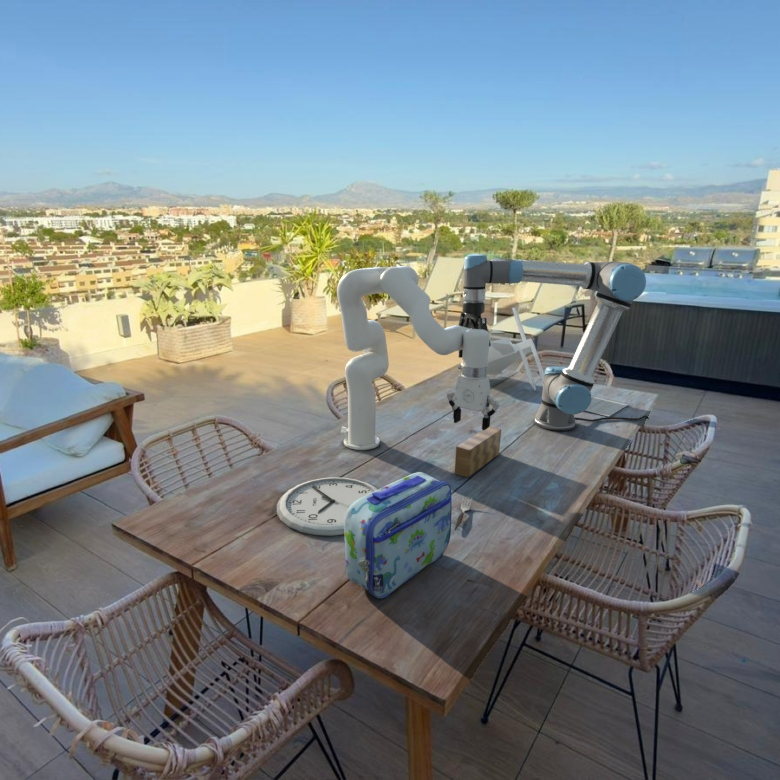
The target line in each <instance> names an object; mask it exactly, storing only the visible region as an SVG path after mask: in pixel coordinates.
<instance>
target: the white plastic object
mask: <svg viewBox="0 0 780 780" xmlns="http://www.w3.org/2000/svg"><path fill="white" fill-rule="evenodd" d="M511 310H512V314H513V316H514V319H515V322H516V325H517V328H518V331H519V334H520V338H521V341H520V342H517V343H513V342H512V341H511V339H510V338H509V337H505V338H500V339H495V340H490V344H491V346H489V352H488V367H487V376H493V377H495V376H498V375H502V374H503V371H504V370H505V369H507V368H509V367H510V366H511V365H512V364H515V362H517V361H518V360H520V359H521V361H522V364H523V367H524V370H525V373H526V377H527V379H528V382H529V384H530V387H532V389H533V390H534V391H537V390H536V389H537V387H536V383H535V380H534V376H533V373H532V370H531V368H530V365H529V362H528V358H527V355H528V354H531V353H532V355H533V357H534V362H535V364H536V367H537V371H538V374H539V376H540V379H541V382H542V383H543V382H544V374H545V370H544V369H543V366H542V362H541V360H540V356H539V355H538V351H537V347H536V344H535V343H534V341H533V339H532V338H530V337H529V338H527V337H526V334H525V331H524V327H523V325H522V322H521V318H520V315H519V313H518V311H517V309H516V307H512V308H511ZM461 364H462V362H461V363H460V365H461Z"/></svg>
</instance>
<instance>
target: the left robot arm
mask: <svg viewBox="0 0 780 780" xmlns="http://www.w3.org/2000/svg"><path fill="white" fill-rule="evenodd" d="M376 294H386V295H387V296H388V297H390V299H391V300H392V301H393V302H394V303H395V304H396V305H397V306H399V308H400V309H402V311H403V312H405V314H406V315H407V316H408V317H409V318H410V322H411V325H412V327H413V329H414V332H415V333H416V335H417V336H418V337H419V338H420V340H421V341H422V342H423V343H424V344H425V346H427V347H428V348H429V349H430V350H431V351H433V352H434V353H436V354H437V355H440V356H448V355H451V354H453V353H455V352H459V350H463V354H462V358H461V363H462V364H461V363H460V364H458V366H457V369H458V370H460V373H459V374H458V375H457V379H456V383H455V389H454V391H452V392H449V393H447V394H446V398H447V401H448V403H449V406H450V407H451V410H452V411H453V412H452V413H453V414H452V416H453V417H452V419H453V423H454V424H457V423H459V422H461V420H462V409H466V410H471V411H475V412H481V414H482V415H483V417H482V421H481V422H482V423H481V431H482V430H486V429H487V428H488V427H489V426H490V427H491V417H492V416H493V415H495V414H496V413H497V411H498V410H499V408H500V404H499V403H498V402H497V401H496V400H494V399H493V398H492V397H491V383H490V377H489V375H487V367H488V352H489V339H490V333H489V331H488V332H487V331H486V330H482V329H469V328H466V327H462V326H458V325H459V324H458V325H451V326H447V327H443V326H442V325H441V323H439V322H438V321H437V320H436V318H435V317H434V316H433V315H432V313H431V309H430V303H431V297H430V296H429V294H428V293H426V292H425V291H424V289H423V288H421V287H420V286H419V275H418V273H417V271H416V270H415V269H414V268H412V267H411V266H408V265H398V266H377V267H366V268H365V267H364V268H358V269H352V270H350V271H348V272H347V273H345V274H343V275H342V277H341V278H340V279H339V281H338V284H337V286H336V297H337V298H336V299H337V301H338V306H339V309H340V318H341V325H342V331H343V340H344V343H345V346H346V348H347V350H349V351H351V352H353V353H358V352H359V353H360V352H363V353H362V354H359V355H356V356H354V357H352V358H350V359H349V360H348V361H347V363H346V364H345V368H344V376H345V381H346V386H347V424H348V425H347V427H346V426H341V428H340V431H339V434H340V435H343V436H345V438H344V439H343V445H344V447H347V449H351V450H355V451H367V450H372V449H376V448H377V447H378V446H380V442H381V440H380V438H379V437H378V436H376V413H377V411H376V409H377V407H376V405H377V403H376V401H377V400H376V399H377V398H376V397H377V395H376V390H375V387H374V385H373V381H375V380H377V379H379V378H381V377H383V376H384V375H385V374H387V372H388V371H389V353H388V345H387V338H386V332H385V330H384V327H383V326H382V324H381V323H379V322H378V321H376V320H374V319H369V318H368V311H367V307H366V305H365V303H364V301H363V299H362V297H365V296H371V295H376ZM490 406H491V407H492V408H491V409H490ZM461 408H462V409H461Z"/></svg>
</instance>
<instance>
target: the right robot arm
mask: <svg viewBox="0 0 780 780" xmlns="http://www.w3.org/2000/svg"><path fill="white" fill-rule="evenodd" d="M462 276H463V278H462V281H463V282H462V283H463V284H462V286H463V287H462V300H463V302H462V309H461V310H462V312H460V316H459V317H460V318H459V322H458V326H462V327H466V328H469V329H482V330H486V331H487V332H488V333H489V329H488V325H487V320H488V319H487V317H482V314H484V313H485V309H486V304H485V300H486V285H487V284H509V285H513V284H520V283H521V282H525V283H535V284H536V283H538V284H549V285H562V286H573V287H581V288H582V289H583V290H589V291H594V292H596V294H595V295H594V296H595V299H596V302H597V303H596V304H595V305H596V306H595V308H594V310H593V312H592V314H591V317H590V319H589V321H588V323H587V325H586V327H585V330H584V332H583V334H582V337H581V339H580V341H579V343H578V345H577V348H576V350H575V352H574V355H573V356H572V358H571V361H570V363H569V366H548V367H546V368H545V369H544V382H542V394H541V402H540V405H539V407H538V410H537V411H536V413H535V416H534V424H535V425H536V426H537V427H539V428H542V429H544V430H549V431H556V432H567V431H572V430H574V429H575V428H576V421H584V422H591V423H594V422H598V421H603V420H625V421H641V420H642V419H647V420H650V417H649V416H648V415H642V416H640V417H633V418H632V417H625V416H624V417H623V416H621V417H620V416H609V417H608V416H604V417H599V418H595V419H589V418H584V417H576V416H575V415H578V414H581V413H583V412H586V411H585V410H586V409H587V408H588V407H589V405H590V403H591V399H592V398H593V397H592V392H591V391H592V389H593V387H594V386H595V380H594V374H595V372H596V370H597V368H598V365H599V363H600V361H601V359H602V357H603V355H604V353H605V350H606V348H607V346H608V344H609V342H610V340H611V338H612V335H613V333H614V331H615V329H616V327H617V324H618V322H619V320H620V318H621V317H622V314H623V312H625V311H627V310H630V308H631V306H632V304H633V302H634V300H636V299H638V298H639V297H641V296H642V294H643V293H644V292H645V290H646V286H647V277H646V274H645V272H644V270H643V269H641V268H640V267H639V266H637V265H635V264H634V263H631V262H630V263H629V262H622V261H616V260H615V261H614V260H613V261H599V262H598V261H597V262H596V261H586V262H585V263H583V264H582V263H569V262H554V261H541V260H530V259H529V260H524V259H512V258H503V257H494V258H493V259H491V260H488V256H487V255H486V254H466V255H465V257H464V261H463V275H462ZM490 342H491V339H490V338H489V346H491V344H490ZM462 354H463V350H459V351H458V358H460V359H462Z"/></svg>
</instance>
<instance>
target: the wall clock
mask: <svg viewBox="0 0 780 780" xmlns="http://www.w3.org/2000/svg"><path fill="white" fill-rule="evenodd" d="M378 489H379V488H377V487H376V486H374V485H372V484H371V483H369V482H365V481H362V480H359V479H355V478H349V477H338V476H337V477H335V476H333V477H332V476H331V477H322V478H317V479H312V480H307V481H305V482H302V483H299V484H297V485H295V486H293V487H292V488H290V489H288V490H287V491H286V492H285V493H284V494H283V495H281V496H280V498H279V499H278V502H277V503H276V515H277V517H278V518H279V520H280V521H281V522H282V523H283V524H285V525H286V526H287V527H288V528H290V529H293V530H295V531H297V532H299V533H303V534H308V535H312V536H327V537H328V536H329V537H331V536H332V537H333V536H342V535H343V536H344V520H345V516H346V513H347V511H348V509H349V507H350V506H351V505H352V504H353V503H354V502H355V501H356V500H358V499H360V498H362V497H364V496H366V495H368V494H370V493H372V492H374V491H376V490H378Z"/></svg>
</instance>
